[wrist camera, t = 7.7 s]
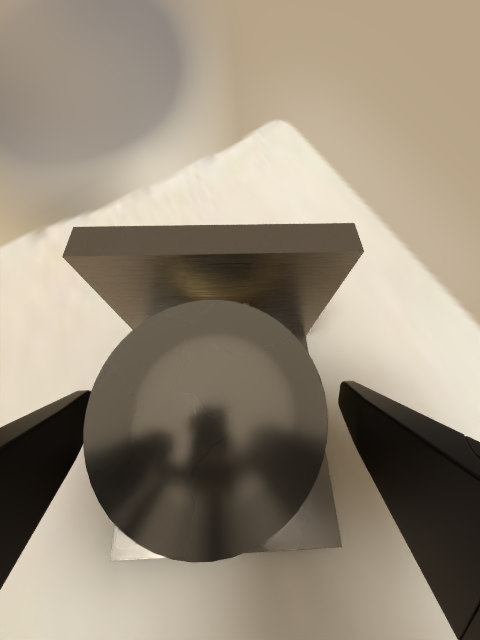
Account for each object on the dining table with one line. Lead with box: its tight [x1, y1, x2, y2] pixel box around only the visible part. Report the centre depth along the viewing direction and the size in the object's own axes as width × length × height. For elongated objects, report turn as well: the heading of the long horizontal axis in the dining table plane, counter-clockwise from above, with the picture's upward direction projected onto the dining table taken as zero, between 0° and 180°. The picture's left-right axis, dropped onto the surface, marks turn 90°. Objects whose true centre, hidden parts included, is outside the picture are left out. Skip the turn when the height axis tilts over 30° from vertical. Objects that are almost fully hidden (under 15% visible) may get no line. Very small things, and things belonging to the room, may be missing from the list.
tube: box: [83, 300, 328, 562], centre depth 10 cm, size 5×5×12 cm
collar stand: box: [62, 223, 364, 561], centre depth 12 cm, size 15×12×10 cm
